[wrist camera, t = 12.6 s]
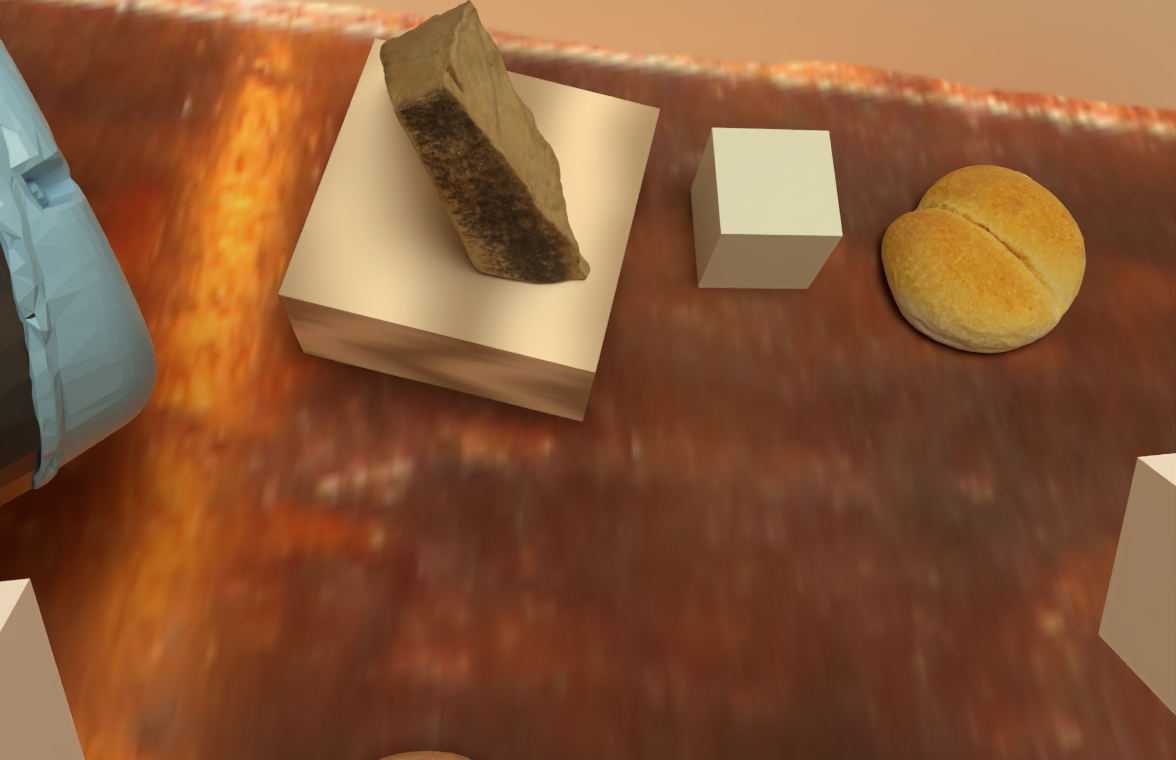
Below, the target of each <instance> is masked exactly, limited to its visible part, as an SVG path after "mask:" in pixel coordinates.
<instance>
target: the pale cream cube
mask: <svg viewBox="0 0 1176 760" xmlns="http://www.w3.org/2000/svg"><path fill="white" fill-rule="evenodd" d="M691 201H692V214H693V228H694V241H695V254H696V268H697V281H698V288H769V289H808V288H809V286H810V285H811V283H812V282H813V280H814V279H815V277H816V276H817V274H818V273H819V271H820V270H821V268H822V267H823V265H824V263H825V262H826V260H827V259H828V257H829V256H830V254H831V253H832V251H833V250H834V248H835V247H836V245H837V244H838V242H839V241H840V239H841V238H842V236H843V235H842V228H841V220H840V212H839V205H838V197H837V190H836V182H835V174H834V167H833V159H832V152H831V144H830V136H829V131H812V130H776V129H740V128H712V130H711V133H710V135H709V138H708V141H707V144H706V147H705V150H704V153H703V156H702V159H701V161H700V164H699V167H698V170H697V173H696V176H695V179H694V182H693V184H692V187H691Z"/></svg>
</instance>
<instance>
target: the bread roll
mask: <svg viewBox="0 0 1176 760" xmlns="http://www.w3.org/2000/svg"><path fill="white" fill-rule="evenodd" d="M881 254H882V261H883V265H884V269H885V274H886V277H887V281H888V284H889V287H890V289H891V291H892V294H893V297H894V299H895V301H896V303H897V305H898V307H899V309H900V312H901V313H902V315H903V316H904V317H905V318H906V320H907V321H908V322H909V323H911V324H912V325H913V326H914V327H915V328H916V329H918V330H919V331H920V332H922V333H924V334H925V335H927V336H929V337H931V338H932V339H934V340H936V341H938V342H940V343H943V344H946V345H948V346H951V347H954V348H957V349H963V350H966V351H971V352H980V353H1000V352H1006V351H1010V350H1013V349H1017V348H1019V347H1021V346H1024V345H1026V344H1030V343H1032V342H1034V341H1035V340H1037V339H1039V338H1041V337H1043V336H1044V335H1046V334H1047V333H1048V332H1050V331H1051V330H1052V329H1053V328H1054V327H1055V326H1056V324H1057V323H1058V322H1059V320H1060V319H1061V317H1062V316H1063V314H1064V313H1065V312H1066V311H1067V309H1068V308H1069V307H1070V305H1071V303H1072V302H1073V300H1074V298H1075V297H1076V296H1077V293H1078V291H1079V288H1080V286H1081V283H1082V279H1083V275H1084V271H1085V264H1086V261H1085V248H1084V239H1083V236H1082V234H1081V232H1080V230H1079V228H1078V226H1077V223H1076V222H1075V221H1074V219H1073V218H1072V216H1071V214H1070V213H1069V212H1068V210H1067V209H1066V208H1065V207H1064V205H1063V204H1062V203H1061V202H1060V201H1059V200H1058V199H1057V198H1056V197H1055V196H1054V195H1053V194H1052V193H1051V192H1049V191H1048V190H1047V189H1045V188H1044V187H1042V186H1041V185H1040V184H1038V183H1037V182H1035V181H1033V180H1032V179H1031V178H1030V177H1028V176H1026V175H1025V174H1021V173H1020V172H1016V171H1013V170H1010V169H1007V168H1003V167H998V166H987V165H977V166H969V167H965V168H961V169H958V170H956V171H953V172H951V173H949V174H947V175H946V176H944V177H943V178H941V179H940V180H938V181H937V182H936V183H935V184H934V185H933V186H932V187H931V188H930V189H928V190H927V192H926V193H925V195H924V196H923V198H922V199H921V201H920V203H919V205H918V207H917V208H916V210H915V211H913V212H909V213H906V214H904V215H903V216H901V217H899V218H897V219H896V220H895V221H894V222H893V223H891V225H890V226H889V227H888V229H887V231H886V233H885V235H884V237H883V240H882V247H881Z"/></svg>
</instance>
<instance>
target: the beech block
mask: <svg viewBox="0 0 1176 760" xmlns="http://www.w3.org/2000/svg"><path fill="white" fill-rule="evenodd" d="M384 42H386V41H384V40H380V39H376V38H375V41H374V43H373V46H372V49H371V51H370V54H369V57H368V59H367V62H366V64H365V67H364V70H363V72H362V75H361V78H360V80H359V83H358V85H357V88H356V91H355V93H354V96H353V99H352V101H351V104H350V107H349V109H348V112H347V114H346V117H345V120H344V122H343V125H342V128H341V130H340V133H339V135H338V138H337V141H336V143H335V146H334V149H333V151H332V154H331V157H330V159H329V162H328V164H327V167H326V170H325V172H324V175H323V178H322V180H321V183H320V185H319V188H318V191H317V193H316V196H315V199H314V201H313V204H312V207H311V209H310V212H309V214H308V217H307V220H306V222H305V225H304V228H303V230H302V233H301V235H300V238H299V241H298V243H297V246H296V249H295V251H294V254H293V257H292V259H291V262H290V264H289V267H288V270H287V272H286V275H285V278H284V280H283V283H282V285H281V288H280V291H279V293H278V295H279V297H280V300H281V302H282V304H283V307H284V309H285V311H286V314H287V316H288V318H289V320H290V323H291V325H292V327H293V330H294V332H295V334H296V337H297V339H298V341H299V343H300V346H301V348H302V350H303V353H306V354H310V355H314V356H318V357H322V358H326V359H330V360H335V361H339V362H343V363H347V364H351V365H355V366H359V367H363V368H367V369H371V370H375V371H379V372H383V373H387V374H391V375H395V376H399V377H403V378H407V379H411V380H415V381H420V382H424V383H428V384H432V385H436V386H440V387H444V388H448V389H452V390H456V391H460V392H464V393H468V394H472V395H476V396H480V397H484V398H488V399H492V400H496V401H500V402H505V403H509V404H513V405H517V406H521V407H525V408H529V409H533V410H537V411H541V412H545V413H549V414H553V415H557V416H561V417H565V418H569V419H573V420H577V421H581V422H582V421H583V418H584V414H585V410H586V406H587V403H588V399H589V395H590V391H591V387H592V384H593V380H594V376H595V372H596V368H597V364H598V360H599V356H600V352H601V348H602V344H603V339H604V335H605V331H606V327H607V323H608V319H609V315H610V311H611V307H612V303H613V299H614V294H615V290H616V286H617V282H618V278H619V274H620V270H621V266H622V262H623V258H624V253H625V249H626V245H627V241H628V237H629V233H630V229H631V225H632V221H633V217H634V213H635V208H636V204H637V200H638V196H639V192H640V188H641V184H642V180H643V176H644V172H645V167H646V163H647V159H648V155H649V151H650V147H651V143H652V139H653V135H654V131H655V127H656V122H657V118H658V114H659V110H660V109H658V108H654V107H650V106H646V105H642V104H638V103H634V102H630V101H626V100H622V99H618V98H614V97H610V96H606V95H602V94H598V93H594V92H590V91H586V90H582V89H578V88H574V87H570V86H566V85H561V84H557V83H553V82H549V81H545V80H541V79H537V78H533V77H529V76H525V75H521V74H517V73H513V72H509V71H507V74H508V76H509V78H510V81H511V83H512V85H513V88H514V90H515V92H516V94H517V95H518V96H519V97H520V98H521V100H522V102H523V103H524V104H525V105H526V106H527V107H529V108H530V110H531V112H532V113H533V115H534V119H535V124H536V126H537V129H538V130H539V132H540V133H541V135H542V136H543V137H544V139H545V140H546V141H547V142H548V143H549V144H550V145H551V147H552V149H553V151H554V153H555V155H556V157H557V159H558V162H559V166H560V175H561V177H560V181H561V184H562V188H563V196H564V198H565V201H566V212H567V216H568V222H569V225H570V227H571V229H572V232H573V234H574V237H575V239H576V241H577V242H578V245H579V251H580V253H581V255H582V257H583V258H584V259H585V260H586V261H587V262H588V264H589V265H590V273H589V274H588V276H587V278H585V279H570V280H566V281H561V282H554V283H533V282H528V281H524V280H518V279H510V278H506V277H500V276H496V275H493V274H489V273H483V272H481V271H479V270H478V269H476V268H475V267H474V265H473V263H472V261H471V259H470V258H469V256H468V253H467V251H466V249H465V247H464V245H463V243H462V241H461V238H460V234H459V232H458V231H457V230H456V228H455V226H454V224H453V223H452V221H451V219H450V217H449V215H448V212H447V210H446V208H445V205H444V203H443V202H442V201H441V200H440V198H439V196H438V193H437V189H436V187H435V186H434V184H433V182H432V179H431V177H430V175H429V174H428V172H427V170H426V169H425V167H424V166H423V164H422V163H421V161H420V158H419V156H418V153H417V152H416V151H415V149H414V147H413V146H412V143H411V141H410V139H409V137H408V136H407V134H406V132H405V131H404V129H403V127H402V126H401V124H400V123H399V121H398V119H397V117H396V114H395V111H394V109H393V104H392V102H391V100H390V98H389V95H388V93H387V86H386V83H385V79H384V77H385V74H384V72H383V69H384V68H383V65H382V63H381V60H380V50H381V48H380V47H381V46H382V44H383V43H384Z"/></svg>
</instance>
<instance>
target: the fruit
mask: <svg viewBox="0 0 1176 760" xmlns="http://www.w3.org/2000/svg"><path fill="white" fill-rule="evenodd" d="M379 760H471V759H469V758H467V757H465V756H461V755H457V754H454V753H448V752H438V751H414V752H406V753H399V754H395V755H391V756H387V757H384V758H381V759H379Z"/></svg>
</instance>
